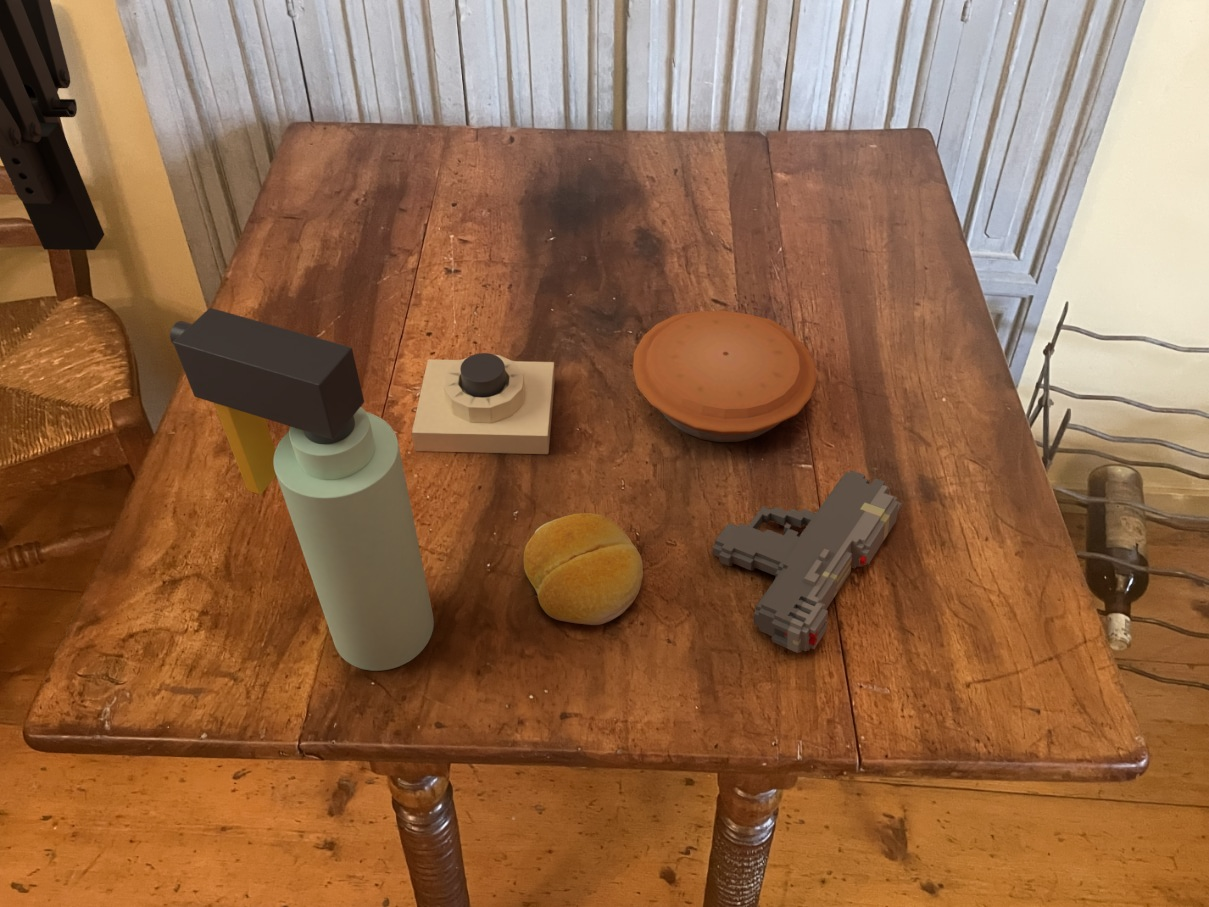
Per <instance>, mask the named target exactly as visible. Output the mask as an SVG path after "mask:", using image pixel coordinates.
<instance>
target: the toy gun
mask: <svg viewBox="0 0 1209 907" xmlns="http://www.w3.org/2000/svg"><path fill="white" fill-rule="evenodd" d="M885 484H886V481H884V480H882V479H879V478H874V479H873V481H872V482H871V483H870V479H867V478H866V474H864V473H862V472H858V471H855V470H852V469H850V470H849V471H848V472H846V471H845V472H844V473H843V475H842V476H841V478H840V479H839V481H838V482H836V484H835V486H834V487H833V489H832V490H831V491H830V493H829V495H827V497H826V499H825V500H824V501H823V503H822V504H821V505H820V507H819V508H818V509H817V511H816V512H813V511H811V510H808V509H806V508H802V510H800V511H799V510H797V509H794V508H790V509H789V510H786V509H783V508H780V507H777V506H773V508H769V507H767V506H764V505H763V506H762V507H760V509H759V510H758V512H757V513H756V514H755V515H754V517H753V518H752V520H750V523H748V525H747V524H744V523H739V524H738V525H736V524H734V523H727V524H726V526H725V527H724V528H723V529H722V530H721V532H720V533H719V534H718V536H717V537H716V538H715V540H714V545H713V546H712V555H713V556H715V557H717V558H718V559H719V560H718V561H719V563H721V564H722V565H725V566H728V567H733V566H734V565H737V566H739V567H741V568H744V569H746V570H748V571H753V572H754V571H755V569H758V570H759V571H762V572H765V573H767V574H769V575H772V576H775V578H774V580H773V582H772V583H771V584H770V586H769V587H768V589H767V590H766V591H765V592H764V594H763V596H762V597H761V598H760V600H759V601H758V603H756V606H755V610H754V612H753V626H756V627H758V631H759V632H761V633H764V634H766V635H768V636H771V642H772V643H775V644H777V645H779V646H781V647H783V648H786V649H788V650H790V651H792V652H794V653H797V654H799V653H802V651H804V652H809V651H810V649H811V650H815V649H816V647H817V646H818V644H819V643H820V641H821V640H822V639H823V636H824V635H825V633H826V632H827V630H828V617H829V611H828V610H827V609H828V608H829V606H830V605H831V603H832V602H833V600H834V598H835V597H836V595H837V594H838V592H839V591H840V589H841V588H842V587H843V585H844V583H845V582H846V580H847V579H848V577H849V576H850V574H851V572H852V571H851V570H852V568H853V569H856V568H857V567H859V568H863V567H864V566H869V565H870V564H871V561H872V560H873V558H874V557H875V555H876V553H877V552H878V550H879V549H880V547H881V546H882V545H883V543H884V541H885V539H886V538H887V536H888V535H889V533H890V532H891V530H892V528H893V527H894V525H895V524H896V522H897V517H898V513H899V511H900V510H901V508H902V505H903V503H902V502H900V501H898V497H897V496H894V495H891V494H890V486H889V485H888V486H887V485H885ZM769 522H773V523H776V524H779V525H781V526H783V534H781V533H779V532H776V531H773V530H770V529H766V530H765V531H762V530H760V529H759V527H760V526H761V525H762V523H765V524H769ZM792 526H795V527H797V528H802V527H803V526H805V528H804V529H803V530H802V532H801V534H799V532H798V531H796V530H793V529H792Z"/></svg>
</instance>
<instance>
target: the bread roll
mask: <svg viewBox="0 0 1209 907" xmlns="http://www.w3.org/2000/svg"><path fill="white" fill-rule="evenodd" d="M523 551H524V552H523V569H524V573H525V575H526V577H527V579H528V581H529V582H530V583H531V585H532V587H533V588H534V590H535V593H536V594H537V600H538V603H539V605H540V607H541V609H542V610H543V611H544V613H545V614H546V615H548V617H550V618H552V619H554V620H557V621H560V622H567V623H573V624H579V625H581V624H582V625H588V626H600V625H604V624H606V623H609V622H611V621H613V620H615V619H616V618H618V617H619V616H621V615H622V614H623V613H625V612H626V610H627V609H628V608H630V606H631V605H632V604H633V603H634V601H635V600H636V598H637V596H638V595H639V593H640V590H641V588H642V582H643V577H644V570H643V569H644V566H643V559H642V556H641V553H640V552H639V550H638V549H637V547H636V546H635V545H634V543H633V542H632V540H631V539H630V537H629V536H628V535H627V533H626V532H625V531H624V530H623V529H622V527H621V526H619V525H618V524H617V523H615V522H614V521H613V520H611V519H610V518H608V517H606V516H603V515H601V514H598V513H594V512H577V513H573V514H567V515H564V516H561V517H558V518H556V519H555V518H554V520H551V521H547V522H545V523H543V524H542V525H540V526H539V527H538V528H536V529H535V531H534V534H532V536H531V537H530V539H529V540H528V542H527V543H526V545H525V547H524V550H523Z"/></svg>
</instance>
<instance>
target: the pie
mask: <svg viewBox="0 0 1209 907" xmlns="http://www.w3.org/2000/svg"><path fill="white" fill-rule="evenodd" d="M807 348H808V347H806V346H805V345H804V344H803V343H802V341H801V340H799V339H798V338H797V337H796V335H795V334H794V333H793V332H792V331H790V330H788V329H787V328H785V327H783V325H781V324H779V323H777V322H776V321H774V320H773V319H769V318H766V317H762V316H757V315H754V314H750V313H743V312H737V311H731V310H725V309H724V310H723V309H722V310H721V309H720V310H699V311H691V312H684V313H678V314H675V315H672V316H670V317H669V318H666V319H663V320H662V321H660V322H658V323H655V325H654V326H653V327H652V328H651V329H649V331H647V332H646V333H645V334H644V335H643V336H642V338H641V340H640V342H639V343H638V345H637V346H636V348H635V350H634V352H633V362H632V364H633V365H632V372H633V376H634V379H635V384H636V387H637V389H638V390H639V391H640V393H641V394H642V395H643V396H644V398H646V400H647V401H648V403H649V404H650V405H651V406H652V407H654V408H655V409H656V410H658V411H659V412H660V413H661V415H662V416H663V417H664V418H665V419H666V420H667V421H668V423H669V424H671V425H673V426H674V427H675V428H677V429H678V430H680V431H681V432H682V433H685V434H687V435H690V436H693V437H695V438H697V439H700V440H703V441H710V442H714V443H715V442H716V443H738V442H743V441H747V440H752V439H755V438H758V437H760V436H762V435H763V434H765V433H768V432H769V431H771V430H772V429H773V428H775V427H777V426H778V425H780V424H781V423H783V422H785V421H786V420H789V419H790V418H793V417H795V416H797V415H798V414H799V413H800V412H801V410H802V409H803V408H804V407H805V406H806V404H807V403H808V402H809V401H810V399H811V397H812V395H813V393H814V389H815V387H816V383H817V377H816V375H817V374H816V363H815V361H814V359H813V357H812V356H811V354H810V352H809V350H808V349H807Z"/></svg>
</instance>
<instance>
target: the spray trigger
mask: <svg viewBox="0 0 1209 907" xmlns="http://www.w3.org/2000/svg"><path fill="white" fill-rule="evenodd" d="M213 405H214V408H215V410H216V413H217V415H218V418H219V420H220V423H221V426H222V428H223V432H224V434H225V437H226V439H227V441H228V444H229V447H230V449H231V452H232V455H233V457H234V460H235V462H236V465H237V467H238V470H239V472H240V476H241V477H242V480H243V483H244V486H245V488H246V491H247V492H249V493H250V492H251V493H253V494H257V495H259V496H260V495H262V494H263V493H264V491H265V490H266V489H267V488H268V486H269V485H270V484H271V483H272V482H273V480H274V479H275V478H277V476H276V473H275V470H274V454H275V451H276V446H275V444H274V443H275V442H274V440H273V437H272V434H271V431H270V428H269V426H268V422H267V419H265V418H262V417H259V416H255V415H252V414H249V413H246V412H242V411H239V410H236V409H233V408H229V407H226V406H223V405H220V404H217V403H213Z"/></svg>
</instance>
